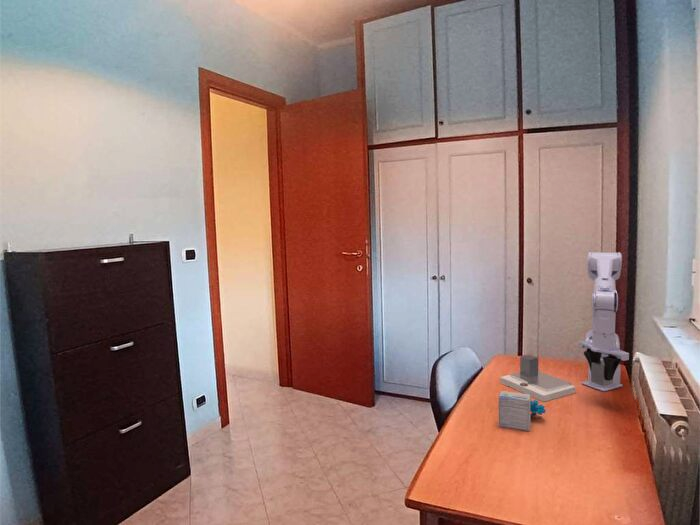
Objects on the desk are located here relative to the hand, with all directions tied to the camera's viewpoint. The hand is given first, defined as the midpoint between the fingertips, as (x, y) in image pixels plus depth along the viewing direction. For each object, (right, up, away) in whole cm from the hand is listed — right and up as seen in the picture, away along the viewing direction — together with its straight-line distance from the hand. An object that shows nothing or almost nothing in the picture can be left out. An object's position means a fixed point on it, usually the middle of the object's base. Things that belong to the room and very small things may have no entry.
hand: (602, 377), depth 134 cm
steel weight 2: (0, -2, 0) cm, 2 cm away
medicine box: (-30, -11, -10) cm, 33 cm away
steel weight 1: (-14, -4, +19) cm, 24 cm away
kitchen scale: (-13, -7, +15) cm, 21 cm away
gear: (-25, -10, -5) cm, 27 cm away
